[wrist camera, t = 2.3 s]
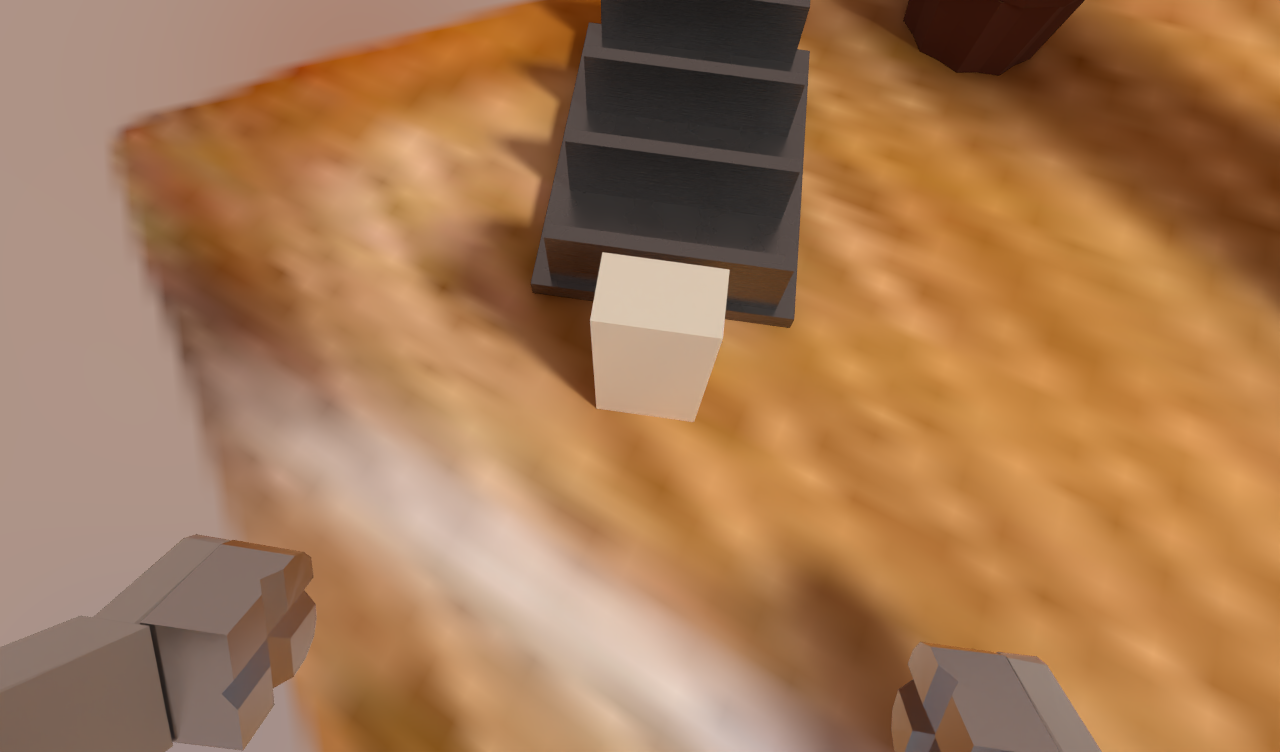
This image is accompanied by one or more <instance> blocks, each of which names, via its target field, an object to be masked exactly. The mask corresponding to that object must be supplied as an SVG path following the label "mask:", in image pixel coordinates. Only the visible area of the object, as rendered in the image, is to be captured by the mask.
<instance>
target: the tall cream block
mask: <svg viewBox="0 0 1280 752" xmlns="http://www.w3.org/2000/svg"><path fill="white" fill-rule="evenodd" d="M729 271H730V270H729V269H722V268H714V267H707V266H700V265H692V264H685V263H678V262H670V261H663V260H656V259H648V258H641V257H634V256H626V255H619V254H612V253H604V252H602V257H601V263H600V268H599V274H598V279H597V285H596V290H595V296H594V301H593V307H592V312H591V318H590V327H591V341H592V355H593V368H594V382H595V396H596V408H597V409H604V410H612V411H619V412H626V413H633V414H640V415H647V416H654V417H661V418H669V419H676V420H683V421H690V422H694V420H695V417H696V415H697V412H698V409H699V406H700V403H701V400H702V397H703V394H704V392H705V389H706V386H707V383H708V380H709V377H710V374H711V371H712V368H713V366H714V363H715V360H716V357H717V354H718V351H719V348H720V345H721V343H722V340H723V332H724V322H725V312H726V302H727V292H728V282H729Z"/></svg>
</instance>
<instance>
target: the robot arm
mask: <svg viewBox="0 0 1280 752" xmlns="http://www.w3.org/2000/svg"><path fill="white" fill-rule="evenodd" d="M312 579H313V568H312V560H311V557H310V556H309V555H307V554H306V553H305V552H301V551H296V550H290V549H284V548H278V547H272V546H266V545H260V544H254V543H249V542H243V541H237V540H227V539H221V538H215V537H209V536H202V535H197V534H196V535H193V536H189V537H186V538H184V539H182V540H181V541H180V542H179V543H178V544H176V546H174V547H173V548H172V549H171V550H170V551H169V552H167V553H166V554H165V555H164V556H163V557H162V558H160V559H159V560H158V561H157V562H156V563H155V564H154V565H152V566H151V567H150V568H149V569H148V570H147V571H146V572H144V573H143V574H142V575H141V576H140V577H139V578H138V579H136V580H135V581H134V582H133V583H132V584H131V585H130V586H128V587H127V588H126V589H125V590H124V591H123V592H122V593H120V594H119V595H118V596H117V597H116V598H115V599H114V600H112V601H111V602H110V603H109V604H108V605H107V606H106V607H104V608H103V609H102V610H101V611H100V612H99V613H97V615H95V616H94V617H86V616H78V617H76V618H73V619H71V620H68V621H66V622H63V623H61V624H58V625H56V626H53V627H51V628H48V629H45V630H43V631H40V632H38V633H35V634H33V635H30V636H28V637H25V638H23V639H20V640H18V641H15V642H12V643H10V644H7V645H5V646H2V647H0V752H165V751H167V750H168V749H169V748H171V747H172V746H173V743H172V742H177V743H185V744H193V745H202V746H210V747H218V748H227V749H235V750H244V749H245V747H246V746H247V744H248V743H249V741H250V740H251V738H252V737H253V736H254V734H255V733H256V731H257V729H258V728H259V727H260V725H261V724H262V722H263V721H264V719H265V718H266V717H267V715H268V714H269V712H270V711H271V709H272V708H273V706H274V695H273V688H274V687H276V686H278V685H280V684H281V683H283V682H285V681H287V680H288V679H290V678H292V677H294V675H295V674H296V672H297V671H298V669H299V668H300V666H301V664H302V663H303V661H304V660H305V658H306V656H307V653H308V650H309V648H310V645H311V643H312V640H313V637H314V632H315V625H316V604H315V603H314V601H313V600H312V599H311V598H310V596H309V595H308V594H307V593H306V592H305V590H304V589H305V588H306V587H307V585H308V584H309V583H310V581H311V580H312ZM908 666H909V669H910V672H911V674H912V677H913V680H912V681H910V682H909V683H907V684H906V685H904V686H903V687H901V688H900V689H898V693H897V696H896V699H895V702H894V705H893V709H892V726H891V732H892V739H893V746H894V751H895V752H1102V751H1101V750H1100V748H1099V747H1098V745H1097V744H1096V742H1095V740H1094V739H1093V737H1092V736H1091V734H1090V732H1089V731H1088V729H1087V728H1086V726H1085V725H1084V723H1083V721H1082V720H1081V718H1080V717H1079V715H1078V713H1077V712H1076V710H1075V709H1074V707H1073V705H1072V704H1071V702H1070V701H1069V699H1068V698H1067V696H1066V694H1065V693H1064V691H1063V690H1062V688H1061V686H1060V685H1059V683H1058V682H1057V680H1056V679H1055V677H1054V675H1053V674H1052V672H1051V671H1050V669H1049V667H1048V666H1047V665H1046V664H1045V663H1044V662H1043V661H1042V660H1040V659H1039V658H1038V657H1035V656H1027V655H1019V654H1011V653H1003V652H996V653H994V652H990V651H983V650H976V649H968V648H961V647H954V646H947V645H940V644H932V643H925V642H920V643H919V644H918V645H917V646H916V647H915V648H914V649H913V652H912V654H911V657H910V660H909V662H908Z"/></svg>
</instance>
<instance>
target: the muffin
mask: <svg viewBox="0 0 1280 752" xmlns="http://www.w3.org/2000/svg"><path fill="white" fill-rule="evenodd" d="M1083 2H1084V0H909V2H908V6H907V10H906V13H905V17H904V22H905V24H906V25H907V27H908V28H909V30H910V31H911V33H912V34H913V36H914V38H915V41H916V43H917V45H918V48H919V50H920V52H923V53H925V54H927V55H929V56H931V57H933V58H935V59H937V60H939V61H940V62H942V63H943V64H945V65H946V66H948V67H949V68H951V69H952V70H954V71H955V72H957V73H960V72H978V73H985V74H992V75H1001V74H1002V73H1003V72H1005V71H1006V70H1008V69H1009V68H1011V67H1012V66H1014V65H1016V64H1019V63H1021V62H1024V61H1026V60H1028V59H1030V58H1031V57H1032V56H1033V55H1034V54H1035V53H1036V52H1037V51H1038V49H1039V48H1040V47H1041V46H1042V45H1043V44H1044V43H1045V42H1046V41H1047V40H1048V39H1049V38H1050V37H1051V36H1052V35H1053V33H1054V32H1055V31H1056V30H1057V29H1058V28H1059V27H1060V26H1061V25H1062V24H1063V23H1064V22H1065V21H1066V20H1067V19H1068V18H1069V16H1070V15H1071V14H1072V13H1073V12H1074V11H1075V10H1076V9H1077V8H1078V7H1079V6H1080V5H1081V4H1082V3H1083Z"/></svg>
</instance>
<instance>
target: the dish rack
mask: <svg viewBox="0 0 1280 752" xmlns="http://www.w3.org/2000/svg"><path fill="white" fill-rule="evenodd" d="M809 8H810V0H601V23H602V24H597V23H589V25H588V30H587V34H586V39H585V43H584V48H583V52H582V57H581V61H580V66H579V70H578V74H577V79H576V83H575V88H574V92H573V97H572V101H571V106H570V110H569V115H568V119H567V124H566V128H565V133H564V137H563V142H562V146H561V151H560V155H559V160H558V164H557V169H556V173H555V177H554V182H553V186H552V191H551V195H550V200H549V204H548V209H547V213H546V218H545V222H544V227H543V231H542V236H541V240H540V245H539V249H538V254H537V258H536V263H535V267H534V272H533V276H532V280H531V286H532V291H533V293H539V294H546V295H554V296H561V297H568V298H575V299H583V300H590V301H594V296H595V290H596V285H597V279H598V274H599V268H600V263H601V257H602V252H604V253H612V254H619V255H626V256H634V257H641V258H648V259H656V260H663V261H670V262H678V263H685V264H692V265H700V266H707V267H714V268H722V269H729V270H730V271H729V282H728V292H727V302H726V312H725V319H729V320H736V321H743V322H750V323H758V324H765V325H772V326H780V327H787V328H790V326H791V324H792V323H793V321H794V313H795V296H796V279H797V261H798V244H799V226H800V209H801V192H802V174H803V157H804V140H805V122H806V105H807V87H808V70H809V53H810V51H806V50H798V49H797V48H798V44H799V41H800V38H801V34H802V31H803V28H804V25H805V21H806V18H807V15H808V11H809Z"/></svg>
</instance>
